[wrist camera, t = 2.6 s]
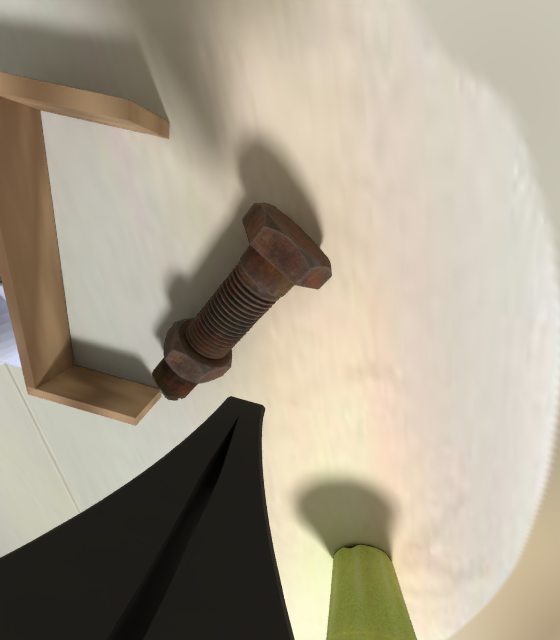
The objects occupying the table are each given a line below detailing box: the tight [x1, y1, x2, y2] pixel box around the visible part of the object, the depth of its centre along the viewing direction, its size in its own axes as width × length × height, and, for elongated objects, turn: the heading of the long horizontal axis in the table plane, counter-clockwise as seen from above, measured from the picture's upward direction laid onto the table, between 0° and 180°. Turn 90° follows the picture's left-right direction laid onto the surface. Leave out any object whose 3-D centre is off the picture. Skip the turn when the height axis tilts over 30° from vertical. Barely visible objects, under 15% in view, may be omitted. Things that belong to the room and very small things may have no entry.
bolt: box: [152, 203, 332, 400], centre depth 18 cm, size 6×5×15 cm
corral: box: [0, 72, 169, 426], centre depth 18 cm, size 9×21×4 cm, turn 168°
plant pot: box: [326, 545, 417, 640], centre depth 24 cm, size 9×9×9 cm
